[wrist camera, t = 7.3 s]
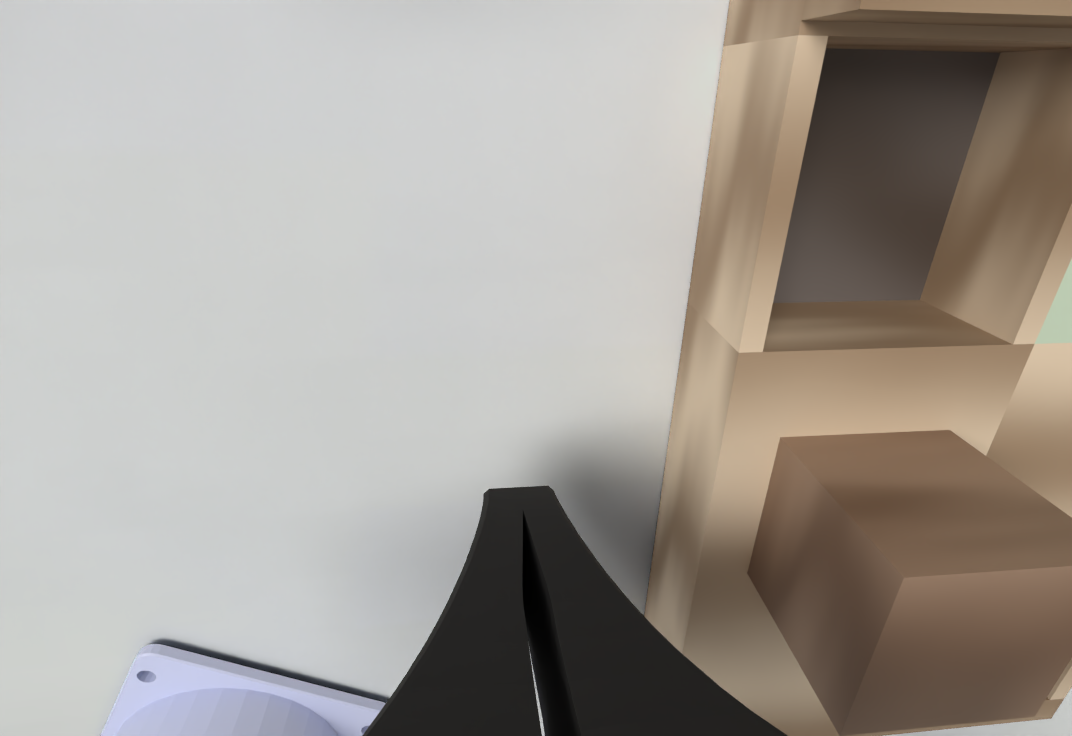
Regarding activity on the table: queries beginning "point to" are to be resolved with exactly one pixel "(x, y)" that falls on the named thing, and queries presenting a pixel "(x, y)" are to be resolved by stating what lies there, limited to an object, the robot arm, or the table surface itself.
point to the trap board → (863, 286)
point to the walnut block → (914, 580)
